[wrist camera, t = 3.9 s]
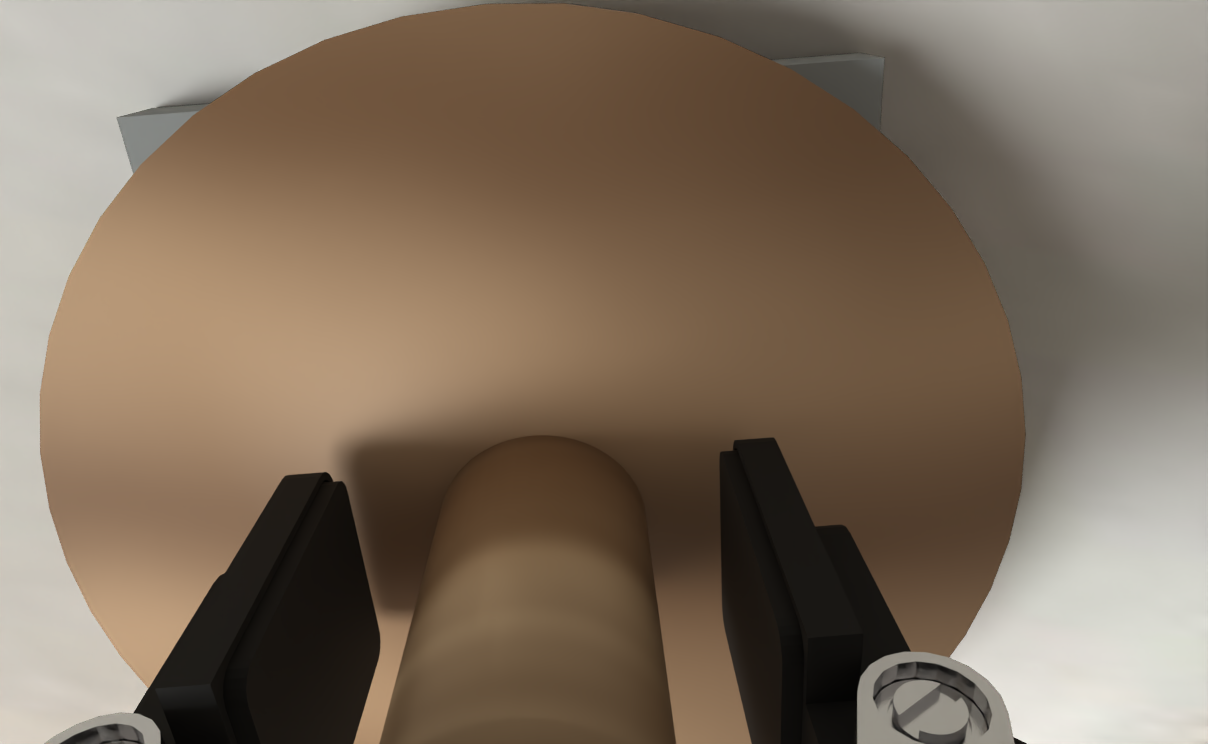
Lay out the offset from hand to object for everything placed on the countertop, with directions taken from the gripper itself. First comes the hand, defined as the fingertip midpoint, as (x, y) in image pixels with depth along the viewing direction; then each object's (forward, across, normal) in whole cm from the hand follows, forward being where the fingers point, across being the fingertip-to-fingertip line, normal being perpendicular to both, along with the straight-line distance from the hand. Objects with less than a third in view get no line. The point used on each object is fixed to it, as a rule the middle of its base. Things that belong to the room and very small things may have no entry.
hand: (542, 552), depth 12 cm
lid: (+2, 0, 0) cm, 2 cm away
